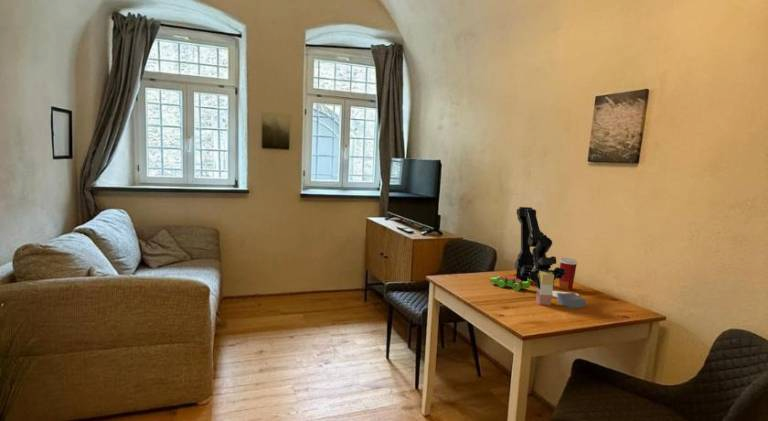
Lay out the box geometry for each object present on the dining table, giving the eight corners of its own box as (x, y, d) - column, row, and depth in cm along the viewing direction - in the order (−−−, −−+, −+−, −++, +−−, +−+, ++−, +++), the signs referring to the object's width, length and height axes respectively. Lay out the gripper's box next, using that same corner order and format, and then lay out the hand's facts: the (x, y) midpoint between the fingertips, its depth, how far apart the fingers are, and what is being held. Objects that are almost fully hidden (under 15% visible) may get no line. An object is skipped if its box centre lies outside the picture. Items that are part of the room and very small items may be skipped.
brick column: (535, 300, 190) (539, 271, 188) (546, 301, 190) (550, 271, 188) (539, 304, 185) (542, 274, 183) (550, 305, 185) (554, 275, 183)
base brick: (557, 302, 191) (558, 293, 191) (572, 301, 193) (573, 293, 192) (568, 308, 183) (569, 299, 183) (584, 307, 185) (585, 299, 185)
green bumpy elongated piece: (487, 285, 210) (488, 273, 210) (491, 282, 216) (492, 270, 215) (528, 293, 200) (529, 281, 200) (531, 290, 206) (532, 278, 205)
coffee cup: (571, 286, 215) (574, 258, 213) (576, 291, 207) (580, 262, 204) (554, 285, 215) (557, 256, 213) (559, 290, 207) (562, 261, 205)
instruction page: (552, 296, 197) (553, 295, 197) (551, 290, 206) (551, 290, 206) (580, 300, 194) (580, 299, 194) (577, 294, 202) (578, 293, 202)
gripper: (524, 248, 189) (529, 279, 179) (566, 250, 188) (573, 281, 179) (518, 260, 198) (522, 290, 188) (558, 263, 197) (564, 293, 187)
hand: (545, 289), depth 185 cm, fingers closed on brick column, 5 cm apart
